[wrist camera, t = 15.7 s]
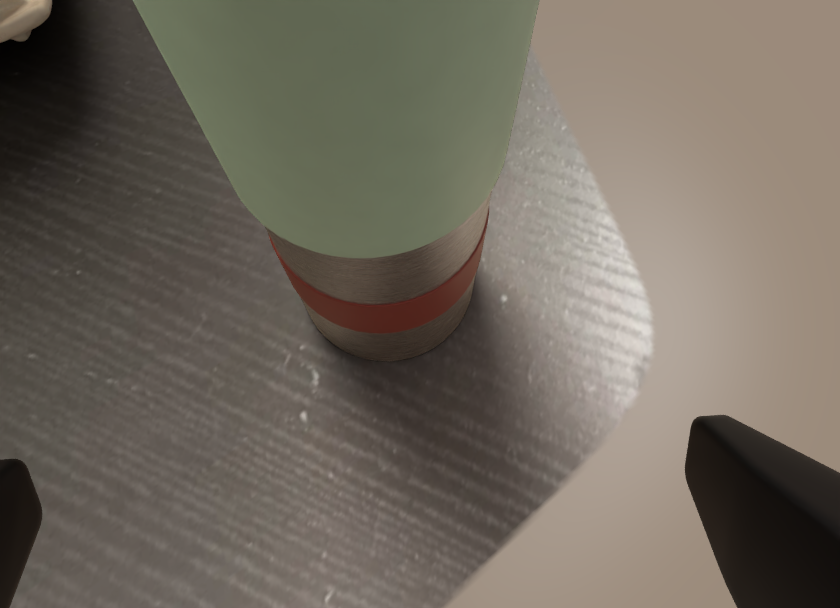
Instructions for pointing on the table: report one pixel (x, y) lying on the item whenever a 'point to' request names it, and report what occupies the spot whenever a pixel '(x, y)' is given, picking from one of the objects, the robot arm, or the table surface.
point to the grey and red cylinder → (389, 291)
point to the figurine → (22, 17)
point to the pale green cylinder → (352, 109)
